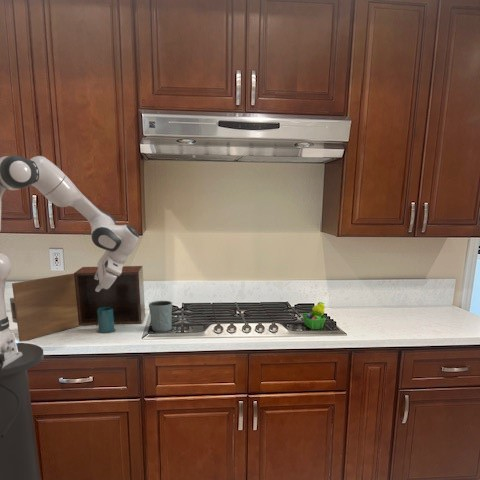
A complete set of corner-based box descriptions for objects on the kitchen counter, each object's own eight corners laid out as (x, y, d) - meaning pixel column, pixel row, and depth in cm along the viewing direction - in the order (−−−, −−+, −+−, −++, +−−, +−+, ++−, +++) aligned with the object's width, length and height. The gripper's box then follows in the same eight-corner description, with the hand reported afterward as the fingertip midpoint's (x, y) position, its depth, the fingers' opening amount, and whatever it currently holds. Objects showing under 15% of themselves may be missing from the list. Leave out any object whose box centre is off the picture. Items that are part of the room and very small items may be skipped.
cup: (113, 332, 202) (111, 310, 200) (97, 333, 202) (95, 310, 199) (115, 328, 209) (114, 306, 206) (100, 328, 208) (98, 307, 205)
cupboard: (141, 323, 216) (138, 271, 210) (78, 325, 213) (73, 272, 207) (145, 314, 233) (142, 265, 227) (87, 315, 231) (82, 266, 224)
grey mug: (177, 329, 208) (176, 302, 205) (159, 333, 201) (158, 306, 197) (163, 324, 214) (161, 299, 211) (145, 329, 207) (143, 303, 204)
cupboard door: (11, 338, 193) (3, 281, 187) (69, 323, 216) (64, 272, 210) (20, 341, 190) (13, 283, 183) (79, 325, 212) (74, 273, 206)
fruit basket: (300, 324, 216) (301, 300, 213) (318, 322, 218) (319, 299, 215) (310, 330, 205) (311, 305, 202) (328, 329, 207) (330, 304, 204)
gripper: (104, 244, 200) (88, 269, 204) (107, 268, 184) (90, 294, 189) (117, 251, 203) (101, 275, 208) (121, 275, 188) (104, 300, 192)
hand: (96, 284), depth 198 cm, fingers open, 8 cm apart
